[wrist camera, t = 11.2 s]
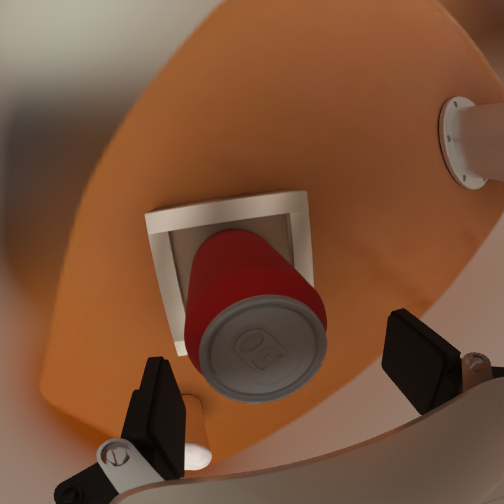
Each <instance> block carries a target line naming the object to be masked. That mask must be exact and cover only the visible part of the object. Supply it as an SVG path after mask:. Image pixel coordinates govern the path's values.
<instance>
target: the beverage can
mask: <svg viewBox="0 0 504 504" xmlns="http://www.w3.org/2000/svg"><path fill="white" fill-rule="evenodd" d="M326 330H327V317H326V311H325V307H324V304H323V302H322V300H321V298H320V296H319V294H318V293H317V291H316V290H315V289H314V288H313V287H312V286H311V285H310V284H309V283H308V281H307V280H306V279H305V278H304V277H303V276H302V275H301V274H300V273H299V272H298V271H297V270H296V269H295V268H294V267H293V266H292V265H291V264H290V263H289V262H288V261H287V260H286V259H285V258H284V257H283V256H282V255H281V254H280V253H279V252H278V251H276V250H275V249H274V248H273V247H272V246H271V245H270V244H269V243H268V242H267V241H266V240H264V239H263V238H262V237H260V236H259V235H257V234H255V233H253V232H250V231H247V230H242V229H231V230H225V231H222V232H219V233H217V234H215V235H213V236H211V237H210V238H208V239H207V240H206V241H205V242H204V243H203V244H202V245H201V246H200V248H199V249H198V251H197V252H196V254H195V256H194V259H193V262H192V268H191V273H190V280H189V287H188V295H187V303H186V314H185V326H184V342H185V347H186V351H187V354H188V356H189V358H190V360H191V362H192V363H193V365H194V366H195V368H196V369H197V370H198V371H199V372H200V373H201V374H202V375H203V376H204V377H205V379H206V381H207V382H208V383H209V385H210V386H211V387H212V388H213V389H214V390H216V391H217V392H218V393H220V394H221V395H223V396H225V397H227V398H229V399H232V400H235V401H239V402H244V403H265V402H271V401H275V400H279V399H281V398H284V397H287V396H289V395H291V394H293V393H294V392H296V391H298V390H299V389H301V388H302V387H303V386H305V385H306V384H307V383H308V382H309V381H310V380H311V379H312V378H313V377H314V375H315V374H316V373H317V371H318V370H319V368H320V367H321V365H322V362H323V360H324V357H325V354H326V348H327V337H326Z"/></svg>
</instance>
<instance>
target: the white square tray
mask: <svg viewBox="0 0 504 504" xmlns="http://www.w3.org/2000/svg"><path fill="white" fill-rule="evenodd" d="M145 220H146V226H147V231H148V237H149V242H150V247H151V252H152V256H153V261H154V266H155V270H156V275H157V279H158V283H159V288H160V292H161V296H162V300H163V304H164V308H165V311H166V315H167V319H168V322H169V326H170V330H171V333H172V337H173V340H174V343H175V347H176V350H177V353H178V356H184V355H188V354H187V351H186V347H185V342H184V326H185V314H186V303H187V295H188V287H189V280H190V273H191V268H192V262H193V259H194V256H195V254H196V252H197V251H198V249H199V248H200V246H201V245H202V244H203V243H204V242H205V241H206V240H207V239H208V238H210V237H211V236H213V235H215V234H217V233H219V232H222V231H225V230H231V229H242V230H247V231H250V232H253V233H255V234H257V235H259V236H260V237H262V238H263V239H264V240H266V241H267V242H268V243H269V244H270V245H271V246H272V247H273V248H274V249H275V250H276V251H278V252H279V253H280V254H281V255H282V256H283V257H284V258H285V259H286V260H287V261H288V262H289V263H290V264H291V265H292V266H293V267H294V268H295V269H296V270H297V271H298V272H299V273H300V274H301V275H302V276H303V277H304V278H305V279H306V280H307V281H308V283H309V284H310V285H311V286H312V287H313V288H314V281H313V261H312V245H311V231H310V218H309V206H308V195H307V191H305V190H296V189H285V190H276V191H268V192H260V193H252V194H244V195H237V196H229V197H222V198H216V199H209V200H202V201H196V202H190V203H184V204H178V205H172V206H166V207H161V208H155V209H153V210H151V211H149V212H148V213H146V214H145Z"/></svg>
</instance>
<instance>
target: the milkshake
mask: <svg viewBox="0 0 504 504" xmlns="http://www.w3.org/2000/svg"><path fill="white" fill-rule="evenodd" d="M181 396H182V398H183V401H184V404H185V407H186V433H185V467H184V470H199V469H202V468H204V467H206V466H207V465H208V464H209V463H210V461H211V459H212V454H211V450H210V446H209V441H208V437H207V434H206V428H205V422H204V416H203V410H202V405H201V400H200V399H198V398H197V397H195V396H194V395H187V394H184V395H181Z"/></svg>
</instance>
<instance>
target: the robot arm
mask: <svg viewBox="0 0 504 504" xmlns="http://www.w3.org/2000/svg"><path fill="white" fill-rule="evenodd" d="M439 136H440V143H441V149H442V153H443V156H444V159H445V162H446V164H447V167H448V169H449V171H450V173H451V175H452V176H453V178H454V179H455V180H456V182H457V183H459V184H460V185H461V186H462V187H464V188H467V189H472V190H474V189H479V188H481V187H482V186H483V185H485V183H486V182H487V180H488V179H489V180H497V181H504V102H500V103H491V104H483V105H475V104H474V103H473V102H472V101H470V100H469V99H467V98H465V97H461V96H458V97H453V98H450V99H448V100H447V101H446V102H445V104H444V106H443V107H442V110H441V114H440V120H439ZM460 354H461V352H460V351H458V350H457V349H456V348H455V347H453V346H452V345H451V344H450V343H448V342H447V341H446V340H445V339H443V338H442V337H441V336H440V335H438V334H437V333H436V332H435V331H433V330H432V329H431V328H429V327H428V326H427V325H426V324H424V323H423V322H421V321H420V320H419V319H418V318H416V317H415V316H414V315H412V314H411V313H410V312H409V311H407V310H406V309H404V308H401V309H398V310H395V311H392V312H391V314H390V316H389V317H388V321H387V330H386V337H385V344H384V351H383V357H382V368H383V370H384V371H385V372H386V374H388V376H389V377H390V378H391V380H392V381H393V382H394V383H395V384H396V386H398V388H399V389H400V390H401V392H402V393H403V394H404V395H405V396H406V398H407V399H408V400H409V401H410V403H411V404H412V405H413V406H414V407H415V409H416V410H417V411H418V412H419V414H421V415H422V416H420V417H418V418H416V419H414V420H412V421H410V422H408V423H406V424H404V425H402V426H399V427H397V428H395V429H393V430H390V431H388V432H386V433H384V434H381V435H379V436H376V437H374V438H371V439H369V440H366V441H364V442H361V443H358V444H355V445H353V446H350V447H347V448H344V449H341V450H338V451H335V452H331V453H328V454H325V455H322V456H318V457H314V458H311V459H307V460H303V461H299V462H295V463H291V464H287V465H282V466H277V467H272V468H267V469H261V470H255V471H249V472H242V473H235V474H228V475H219V476H209V477H198V478H187V479H180V477H184V467H185V433H186V407H185V404H184V401H183V398H182V396H181V393H180V391H179V388H178V385H177V383H176V380H175V377H174V374H173V372H172V369H171V366H170V363H169V361H168V360H164V358H163V357H162V356H160V357H149V358H148V360H147V363H146V367H145V370H144V374H143V377H142V381H141V385H140V388H139V390H134V391H133V393H132V397H131V400H130V404H129V407H128V411H127V415H126V418H125V422H124V426H123V430H122V434H121V438H114V439H110V440H108V441H106V442H104V443H103V444H102V445H101V446H100V447H99V448H98V451H97V460H98V462H97V463H95V464H94V465H92V466H90V467H88V468H87V469H85V470H83V471H81V472H80V473H78V474H76V475H74V476H72V477H71V478H69V479H67V480H65V481H63V482H62V483H60V484H59V485H58V486H57V488H56V489H55V492H54V500H55V501H54V502H53V503H52V504H504V367H493V366H491V362H490V360H489V359H488V358H487V357H486V356H485V355H483V354H481V353H476V352H473V353H468V354H466V355H465V356H464V357H463V358H462V359H461V358H460ZM47 504H51V503H49V502H48V503H47Z"/></svg>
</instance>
